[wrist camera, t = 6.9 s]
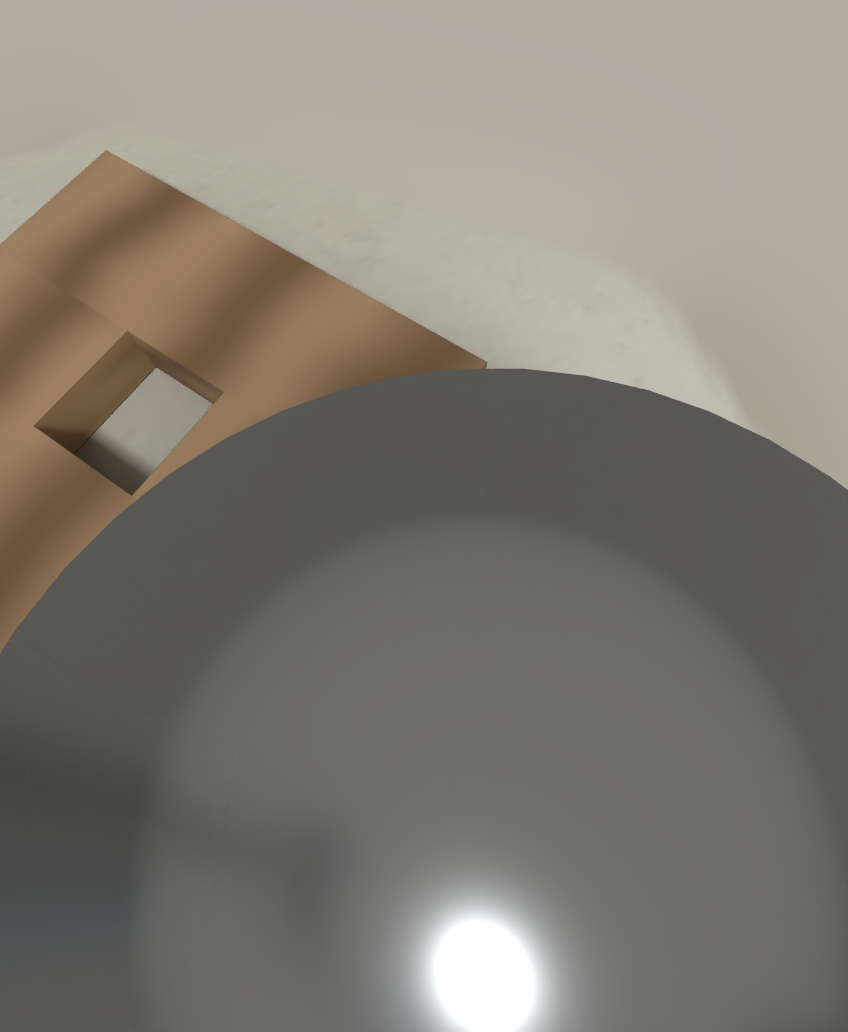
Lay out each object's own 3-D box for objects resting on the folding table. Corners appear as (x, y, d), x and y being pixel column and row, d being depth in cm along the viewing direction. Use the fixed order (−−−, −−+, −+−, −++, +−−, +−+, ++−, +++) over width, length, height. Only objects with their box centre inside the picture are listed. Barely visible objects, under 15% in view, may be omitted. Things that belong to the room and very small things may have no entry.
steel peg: (352, 755, 19) (-427, 1118, 2) (423, 649, 20) (370, 227, 3) (457, 835, 18) (912, 2891, 1) (526, 720, 19) (1318, 735, 2)
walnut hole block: (-173, 483, 24) (-239, 457, 22) (133, 197, 29) (105, 150, 26) (196, 786, 20) (164, 796, 18) (482, 396, 25) (487, 362, 22)
